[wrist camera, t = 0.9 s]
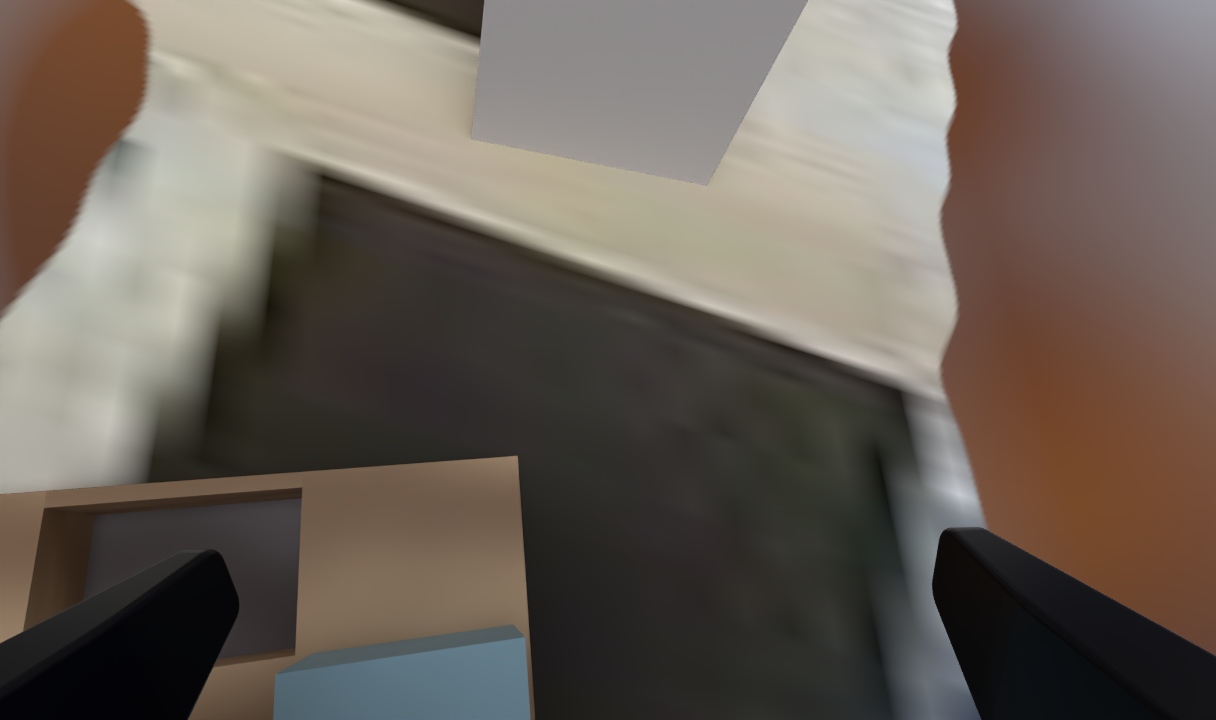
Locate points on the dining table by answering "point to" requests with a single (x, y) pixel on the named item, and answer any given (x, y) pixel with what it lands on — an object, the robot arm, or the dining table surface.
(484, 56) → the milk
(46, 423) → the dining table surface
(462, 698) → the teal block
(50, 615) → the trap deck
